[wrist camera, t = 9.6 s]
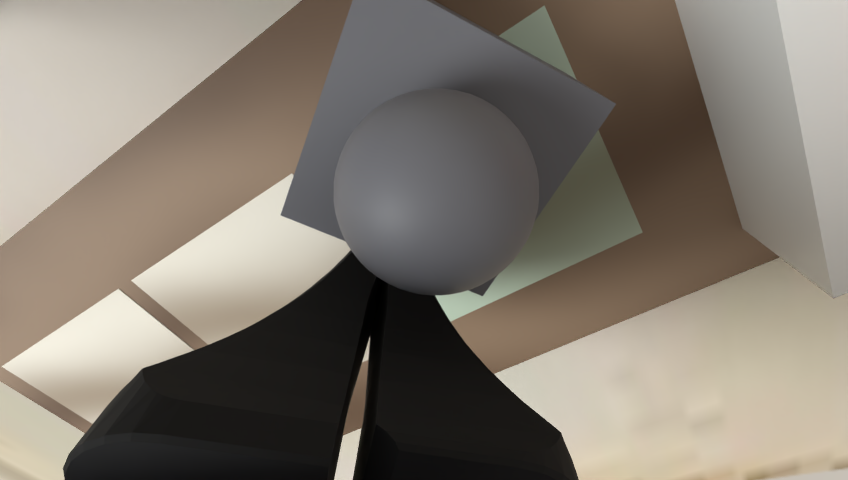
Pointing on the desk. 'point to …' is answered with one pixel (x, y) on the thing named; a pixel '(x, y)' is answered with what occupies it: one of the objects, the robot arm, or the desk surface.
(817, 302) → the desk surface
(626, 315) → the game board
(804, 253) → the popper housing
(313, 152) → the pawn
